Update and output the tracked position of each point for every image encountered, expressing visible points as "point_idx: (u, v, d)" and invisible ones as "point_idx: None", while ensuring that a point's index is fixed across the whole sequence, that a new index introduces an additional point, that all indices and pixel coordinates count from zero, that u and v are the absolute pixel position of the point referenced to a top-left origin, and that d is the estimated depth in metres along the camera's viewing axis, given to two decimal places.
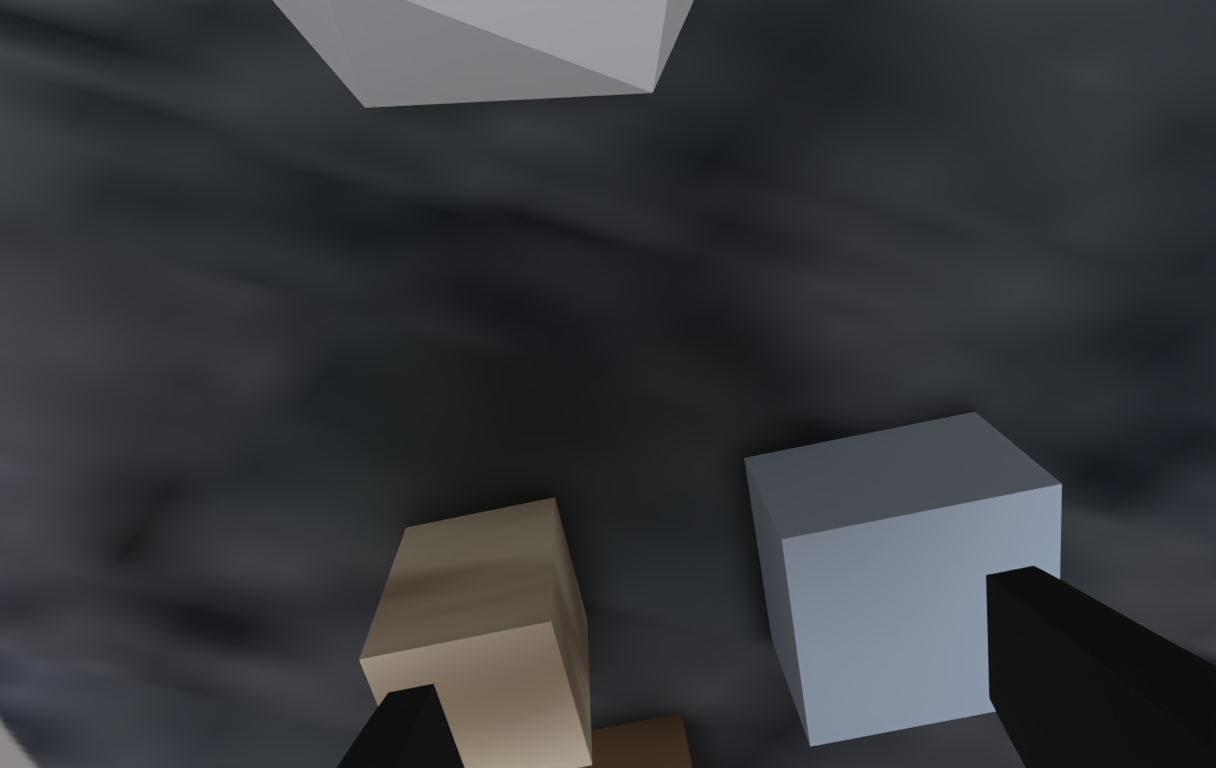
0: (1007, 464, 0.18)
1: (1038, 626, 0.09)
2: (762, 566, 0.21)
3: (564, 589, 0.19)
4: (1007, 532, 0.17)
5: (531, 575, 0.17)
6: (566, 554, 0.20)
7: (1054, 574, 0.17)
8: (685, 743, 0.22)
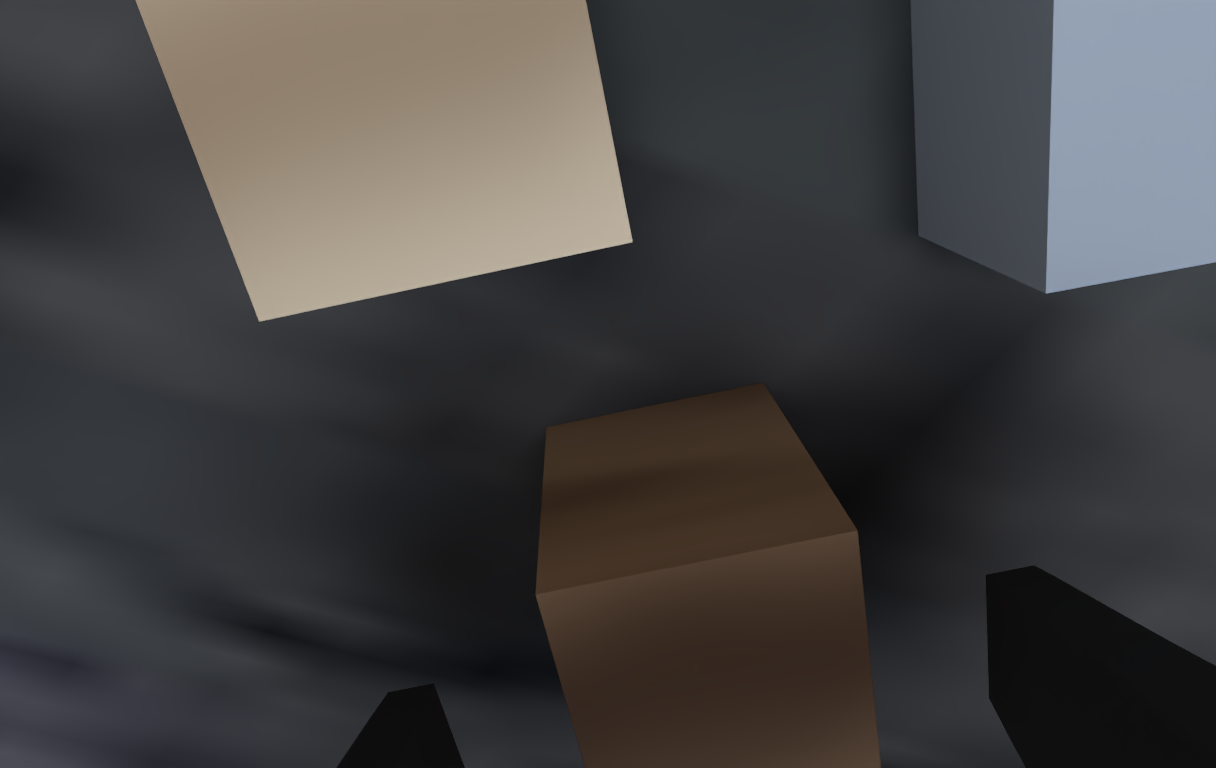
0: None
1: (1038, 626, 0.09)
2: (921, 57, 0.12)
3: None
4: None
5: None
6: None
7: None
8: (776, 407, 0.13)
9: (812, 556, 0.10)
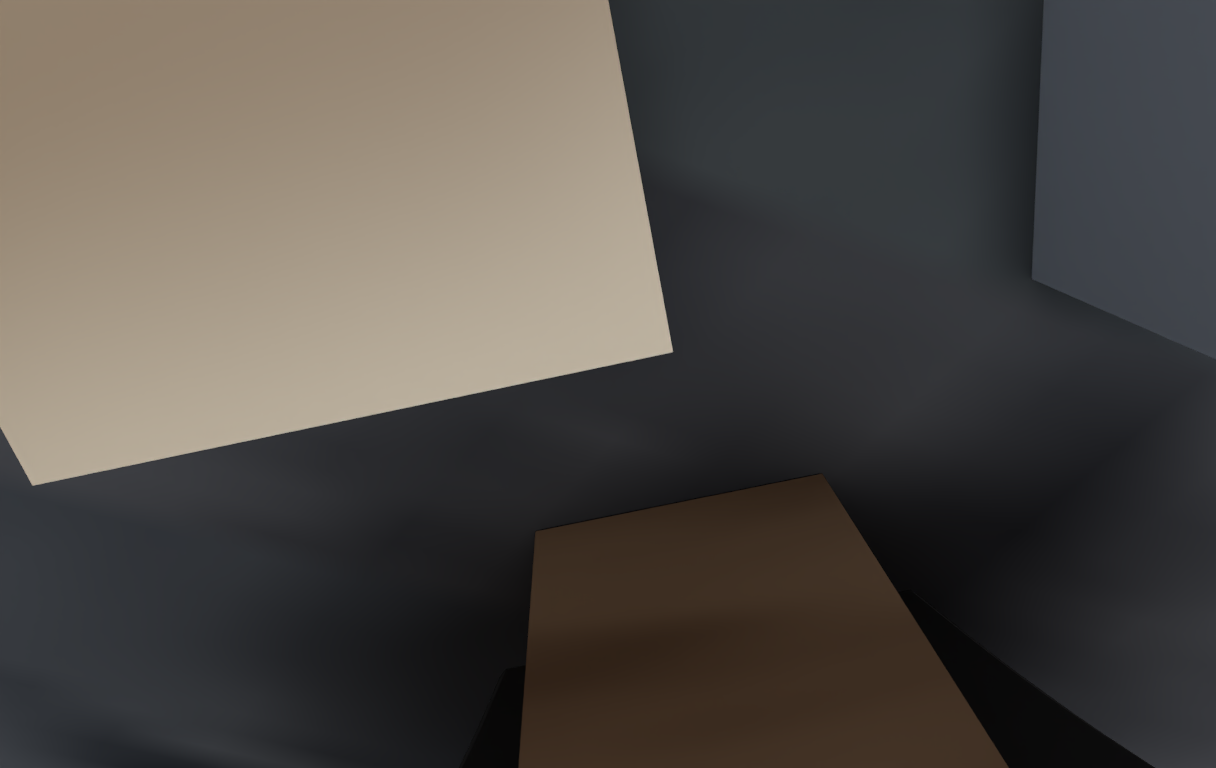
0: None
1: None
2: (1060, 32, 0.08)
3: None
4: None
5: None
6: None
7: None
8: (848, 519, 0.10)
9: None
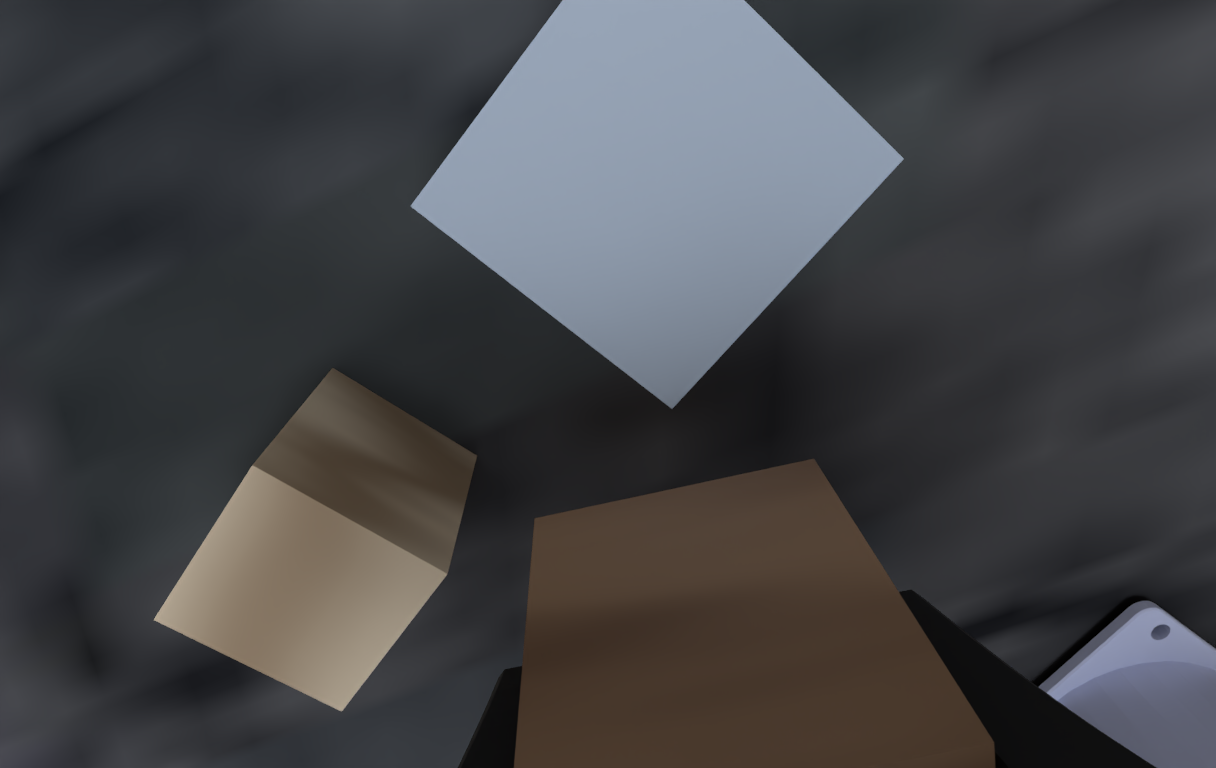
0: None
1: None
2: None
3: (352, 437, 0.17)
4: (637, 6, 0.12)
5: None
6: (376, 409, 0.18)
7: (743, 11, 0.12)
8: (838, 502, 0.10)
9: None
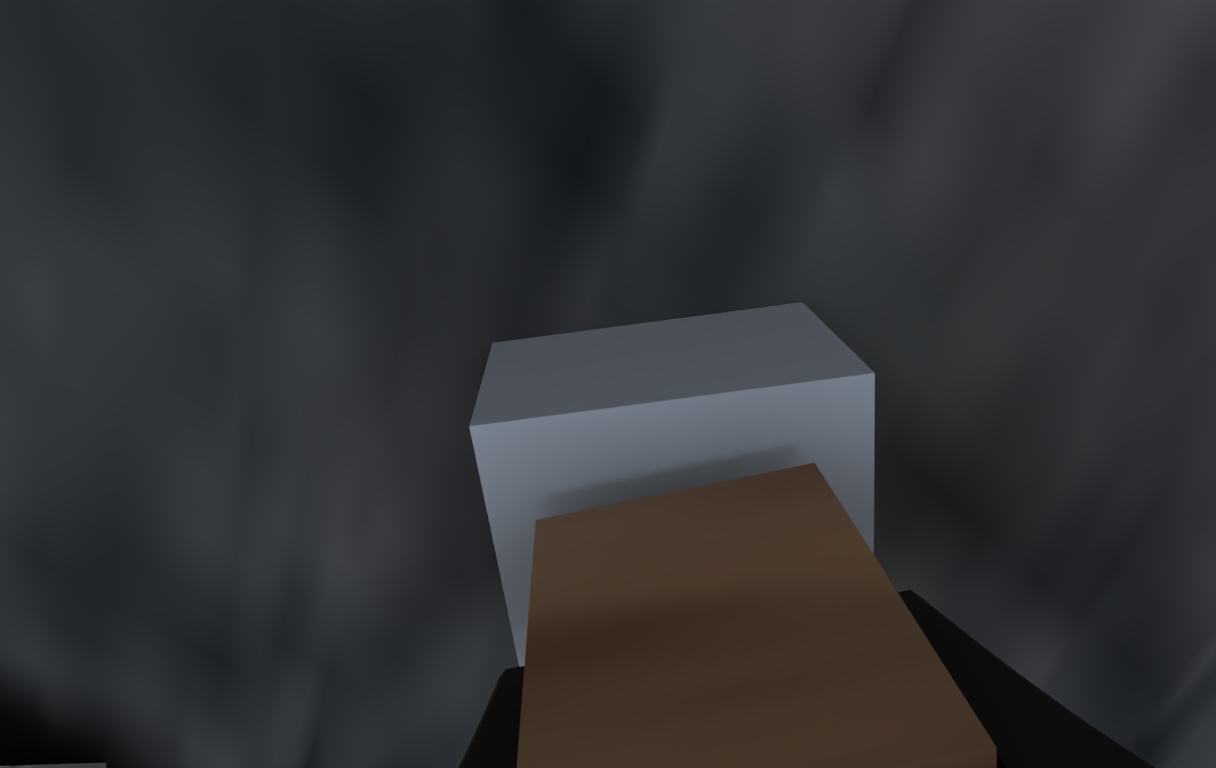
0: None
1: None
2: None
3: None
4: (545, 487, 0.12)
5: None
6: None
7: (626, 413, 0.12)
8: (839, 506, 0.10)
9: None
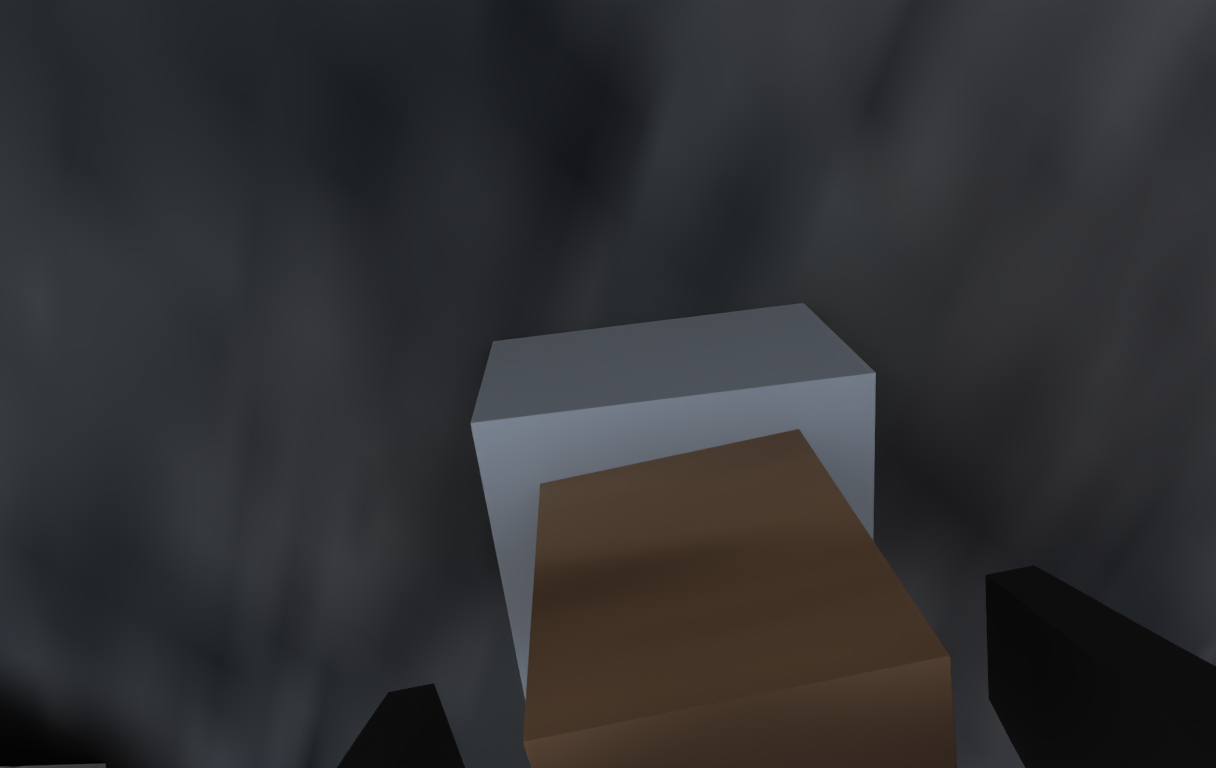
0: None
1: (1037, 626, 0.09)
2: None
3: None
4: None
5: None
6: None
7: (627, 411, 0.12)
8: (820, 465, 0.11)
9: (890, 688, 0.07)
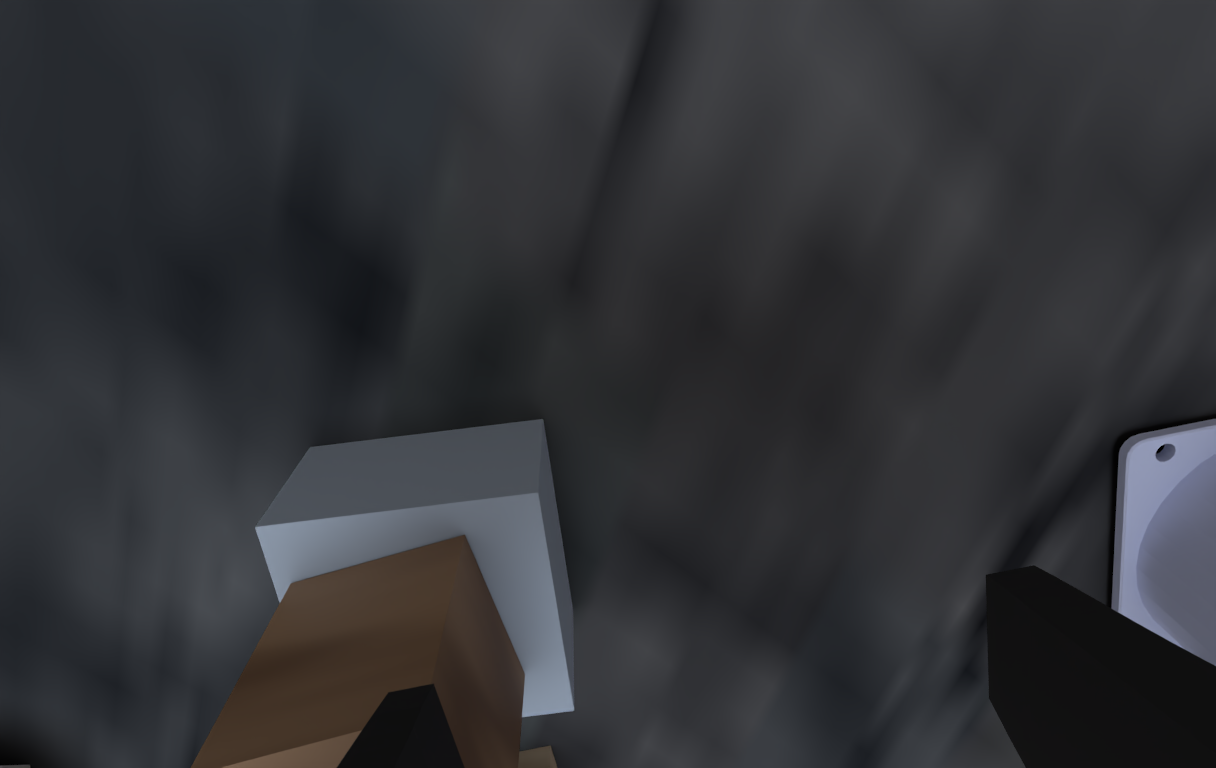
0: None
1: (1038, 626, 0.09)
2: None
3: None
4: (314, 567, 0.17)
5: None
6: None
7: (365, 518, 0.17)
8: (456, 567, 0.16)
9: None
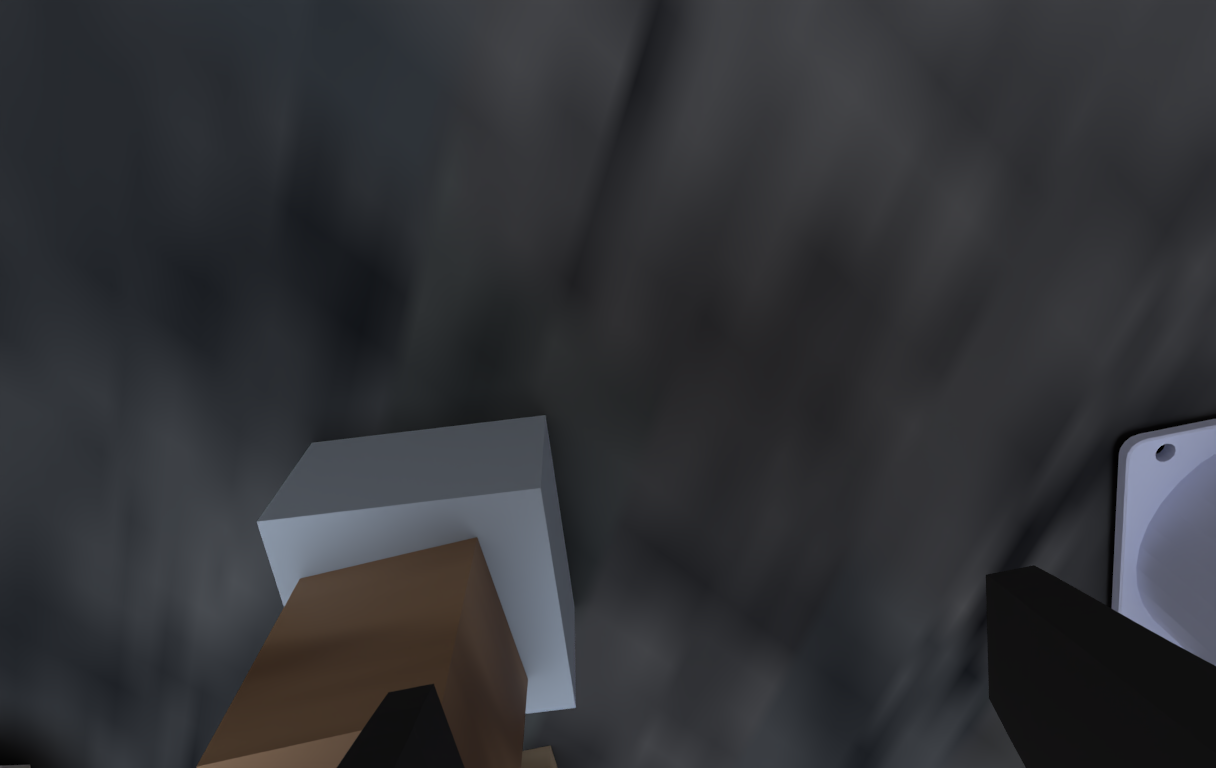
0: None
1: (1038, 626, 0.09)
2: None
3: None
4: (316, 562, 0.17)
5: None
6: None
7: (367, 513, 0.17)
8: (468, 569, 0.16)
9: None
